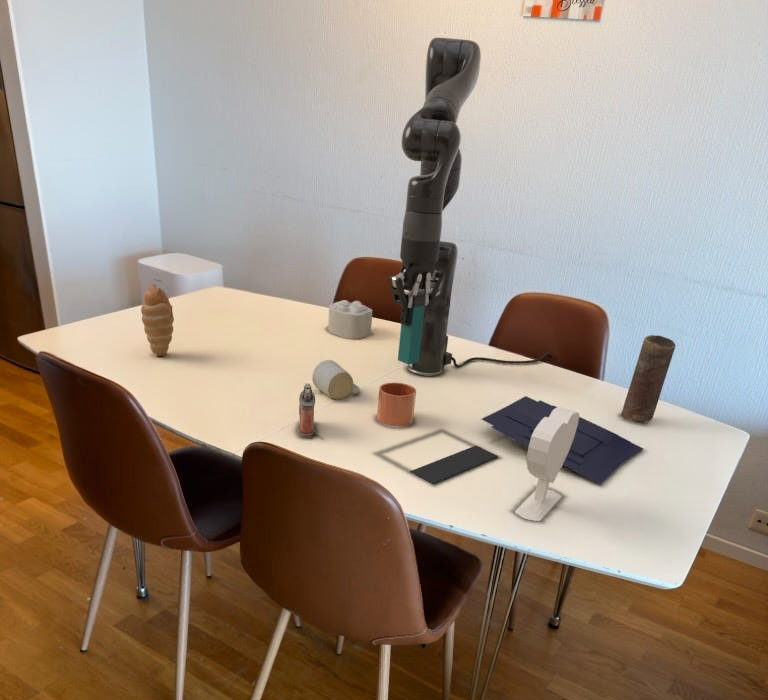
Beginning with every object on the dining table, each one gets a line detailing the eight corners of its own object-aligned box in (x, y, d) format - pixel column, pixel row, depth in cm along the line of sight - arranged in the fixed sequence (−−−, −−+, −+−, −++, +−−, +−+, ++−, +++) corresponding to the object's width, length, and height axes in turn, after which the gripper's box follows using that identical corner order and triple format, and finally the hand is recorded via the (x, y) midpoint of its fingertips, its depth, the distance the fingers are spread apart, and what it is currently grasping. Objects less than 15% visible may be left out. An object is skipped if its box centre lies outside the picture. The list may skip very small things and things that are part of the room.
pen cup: (394, 410, 167) (397, 380, 163) (420, 422, 162) (423, 391, 159) (369, 418, 162) (371, 387, 158) (394, 430, 157) (397, 399, 153)
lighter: (298, 422, 157) (299, 379, 152) (314, 422, 158) (315, 379, 152) (298, 438, 150) (299, 393, 145) (314, 438, 151) (315, 394, 146)
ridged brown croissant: (181, 359, 185) (176, 288, 175) (151, 362, 181) (144, 290, 171) (169, 348, 191) (164, 279, 181) (139, 351, 187) (133, 281, 177)
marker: (408, 357, 153) (414, 291, 146) (418, 362, 151) (426, 295, 144) (397, 360, 151) (403, 293, 144) (408, 364, 149) (415, 297, 142)
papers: (526, 404, 174) (530, 390, 172) (639, 458, 161) (645, 444, 159) (473, 432, 157) (477, 417, 155) (595, 495, 144) (601, 481, 142)
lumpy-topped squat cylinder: (354, 340, 209) (356, 311, 205) (320, 330, 215) (321, 301, 210) (374, 333, 217) (377, 304, 212) (340, 323, 222) (342, 295, 218)
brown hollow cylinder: (652, 417, 177) (676, 338, 166) (652, 428, 171) (676, 347, 160) (621, 410, 179) (642, 332, 168) (619, 421, 173) (642, 340, 162)
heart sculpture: (541, 484, 141) (560, 399, 132) (565, 492, 139) (586, 407, 130) (510, 516, 130) (528, 425, 120) (535, 525, 128) (556, 434, 118)
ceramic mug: (328, 403, 167) (330, 372, 163) (310, 391, 173) (312, 361, 169) (365, 397, 173) (368, 367, 169) (347, 385, 178) (349, 356, 174)
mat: (441, 430, 160) (442, 429, 159) (497, 457, 150) (498, 455, 150) (377, 453, 147) (377, 451, 147) (433, 484, 138) (433, 482, 137)
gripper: (409, 241, 132) (400, 333, 141) (459, 237, 141) (448, 323, 149) (381, 234, 136) (374, 323, 145) (431, 230, 145) (422, 314, 154)
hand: (412, 323), depth 147 cm, fingers closed on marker, 3 cm apart
